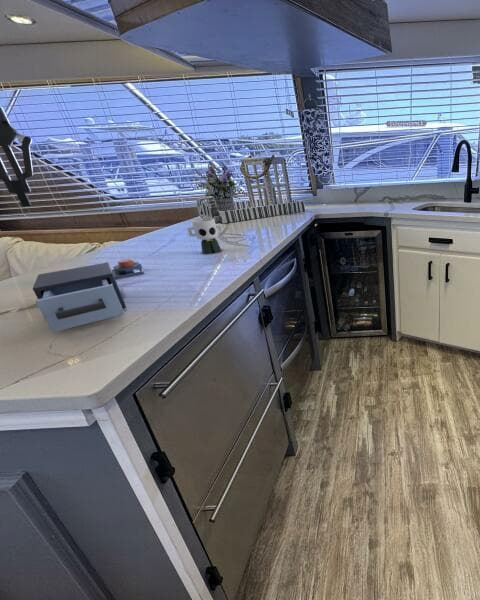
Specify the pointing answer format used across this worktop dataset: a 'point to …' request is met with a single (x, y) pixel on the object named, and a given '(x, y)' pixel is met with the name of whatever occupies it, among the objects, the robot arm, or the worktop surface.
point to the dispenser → (76, 279)
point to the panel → (127, 271)
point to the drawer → (79, 304)
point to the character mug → (206, 234)
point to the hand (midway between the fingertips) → (27, 206)
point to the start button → (126, 263)
